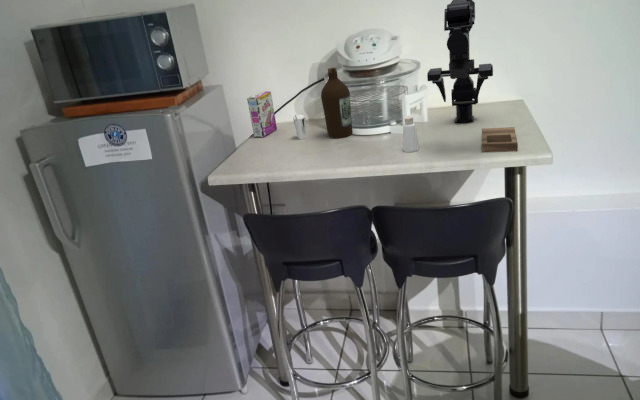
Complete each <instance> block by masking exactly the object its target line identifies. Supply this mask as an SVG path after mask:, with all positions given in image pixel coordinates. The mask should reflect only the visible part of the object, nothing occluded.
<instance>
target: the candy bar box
mask: <svg viewBox="0 0 640 400" xmlns="http://www.w3.org/2000/svg"><path fill="white" fill-rule="evenodd" d="M246 100H247V105H248V110H249V115H250V121H251V127H252V131H253V132H252V133H253V137H254V138H260V139H263V138H265V137H267V136H268V135H270V134H272V133H274V132H275V131H277V129H278V127H277V121H276V115H275V109H274V102H273V97H272V91H267V90H266V91H260V92H258V93H255V94H253V95H251V96H248V97H247V98H246Z"/></svg>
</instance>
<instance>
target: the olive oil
mask: <svg viewBox="0 0 640 400" xmlns="http://www.w3.org/2000/svg"><path fill="white" fill-rule="evenodd" d="M327 77H328V79H327V81H326V82H325V83H324V85H323V88H322V89H321V94H320V99H321V103H322V104H321V105H322V109H323V114H324V120H325V124H326V125H325V126H326V130H327V137H328V138H330V139H342V138H343V139H344V138H347V137H350V136H351V135H353V117H352V106H351V93H350V89H349V87H348V86H347V85H346V83H344V82H343V81H341V80H340V78H338V77H339V76H338V70H337V67H334V66H333V67H328V68H327Z"/></svg>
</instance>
